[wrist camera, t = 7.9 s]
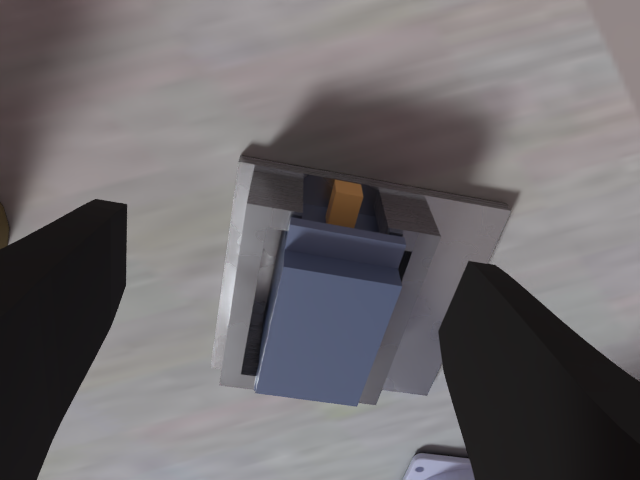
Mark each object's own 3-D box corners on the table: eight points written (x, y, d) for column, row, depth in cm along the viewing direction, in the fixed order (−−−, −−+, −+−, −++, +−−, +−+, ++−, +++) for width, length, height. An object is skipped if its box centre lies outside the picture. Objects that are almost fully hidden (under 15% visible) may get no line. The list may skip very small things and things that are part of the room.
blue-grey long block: (344, 344, 25) (350, 423, 21) (260, 331, 24) (251, 410, 21) (396, 183, 20) (417, 246, 17) (295, 164, 20) (292, 224, 16)
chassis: (424, 386, 27) (439, 444, 24) (212, 358, 26) (200, 416, 23) (506, 203, 22) (538, 250, 19) (240, 155, 20) (228, 197, 17)
